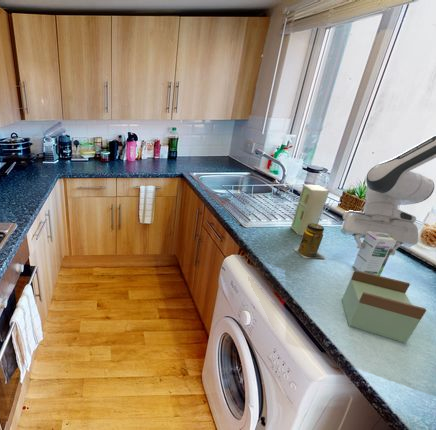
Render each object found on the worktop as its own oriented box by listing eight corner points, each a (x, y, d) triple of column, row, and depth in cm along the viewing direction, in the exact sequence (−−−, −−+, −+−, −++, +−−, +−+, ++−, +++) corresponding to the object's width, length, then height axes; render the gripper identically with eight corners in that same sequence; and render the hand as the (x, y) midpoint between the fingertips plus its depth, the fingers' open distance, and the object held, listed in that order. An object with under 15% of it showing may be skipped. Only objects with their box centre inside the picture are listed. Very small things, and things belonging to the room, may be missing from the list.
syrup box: (361, 274, 100) (378, 238, 93) (351, 265, 105) (367, 230, 99) (379, 276, 99) (398, 240, 93) (369, 266, 104) (385, 231, 98)
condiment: (293, 248, 115) (301, 221, 110) (314, 249, 115) (323, 222, 110) (303, 258, 108) (313, 230, 103) (326, 259, 108) (337, 231, 103)
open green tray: (392, 313, 82) (409, 282, 78) (406, 343, 73) (426, 310, 68) (341, 299, 88) (354, 269, 83) (348, 325, 78) (363, 293, 73)
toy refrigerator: (288, 227, 132) (301, 183, 124) (305, 228, 131) (320, 185, 123) (296, 235, 125) (310, 190, 116) (314, 236, 124) (330, 191, 116)
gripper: (346, 205, 103) (341, 240, 99) (422, 218, 94) (420, 257, 91) (340, 212, 109) (335, 246, 105) (411, 224, 100) (408, 262, 96)
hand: (375, 251), depth 98 cm, fingers closed on syrup box, 7 cm apart
